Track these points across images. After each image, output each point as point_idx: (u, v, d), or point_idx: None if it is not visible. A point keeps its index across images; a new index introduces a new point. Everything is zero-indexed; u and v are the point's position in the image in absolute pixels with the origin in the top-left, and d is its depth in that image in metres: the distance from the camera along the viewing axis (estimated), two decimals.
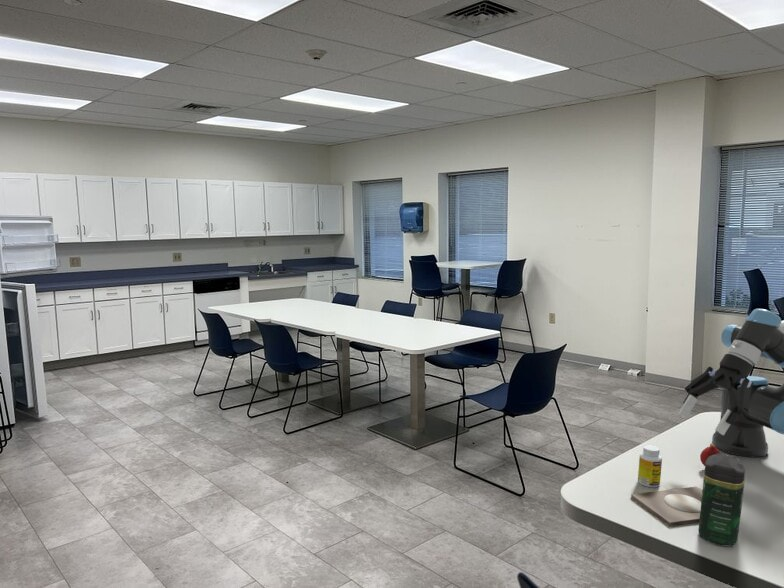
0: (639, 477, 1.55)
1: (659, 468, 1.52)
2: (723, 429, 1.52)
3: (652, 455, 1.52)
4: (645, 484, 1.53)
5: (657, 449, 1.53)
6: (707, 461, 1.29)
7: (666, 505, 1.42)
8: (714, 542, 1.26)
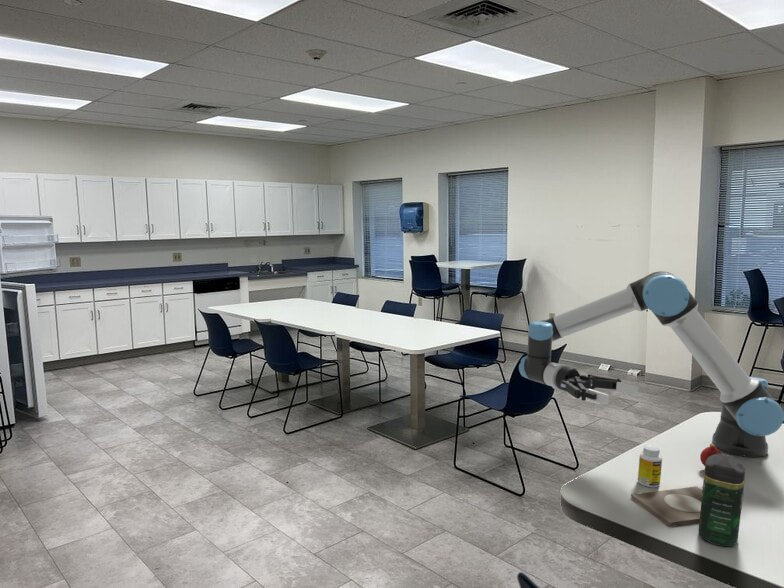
0: (639, 477, 1.55)
1: (659, 468, 1.52)
2: (603, 398, 1.57)
3: (652, 455, 1.52)
4: (645, 484, 1.53)
5: (657, 449, 1.53)
6: (707, 461, 1.29)
7: (666, 505, 1.42)
8: (714, 542, 1.26)
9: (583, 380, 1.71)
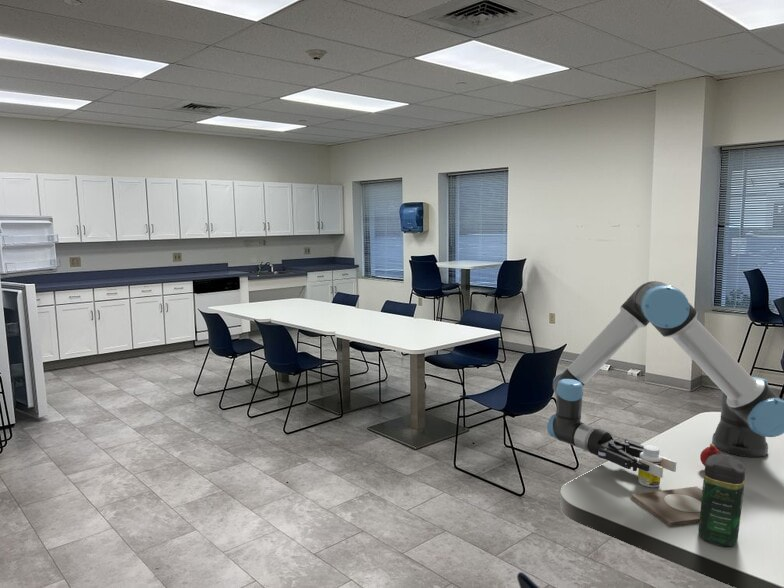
0: (639, 477, 1.55)
1: None
2: (656, 470, 1.49)
3: (652, 455, 1.52)
4: (645, 484, 1.53)
5: (657, 449, 1.53)
6: (707, 461, 1.29)
7: (666, 505, 1.42)
8: (714, 542, 1.26)
9: (617, 446, 1.62)
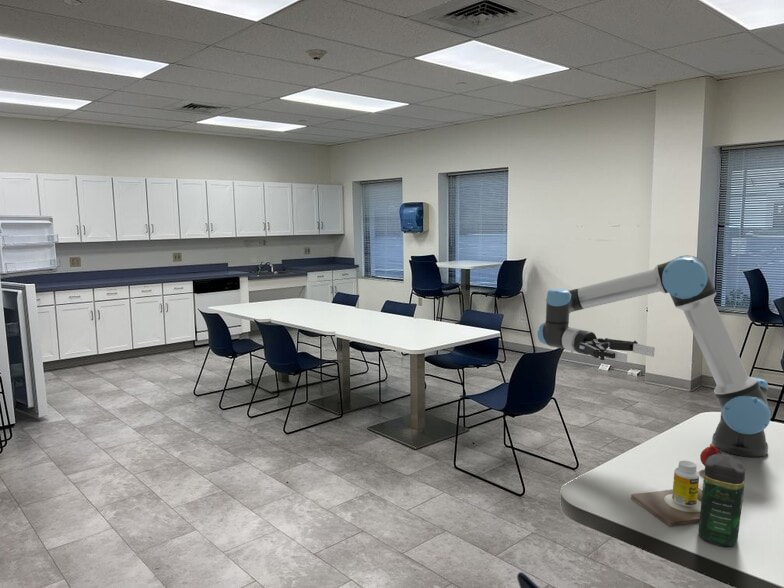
0: (674, 495, 1.42)
1: (696, 486, 1.39)
2: (621, 356, 1.64)
3: (689, 472, 1.40)
4: (681, 503, 1.40)
5: (694, 465, 1.40)
6: (707, 461, 1.29)
7: (666, 505, 1.42)
8: (714, 542, 1.26)
9: (601, 342, 1.77)
